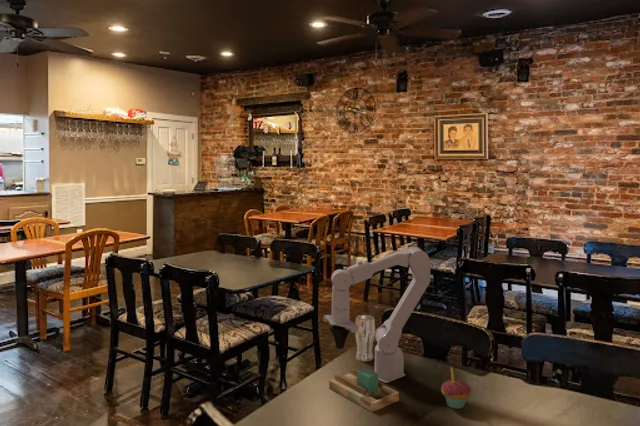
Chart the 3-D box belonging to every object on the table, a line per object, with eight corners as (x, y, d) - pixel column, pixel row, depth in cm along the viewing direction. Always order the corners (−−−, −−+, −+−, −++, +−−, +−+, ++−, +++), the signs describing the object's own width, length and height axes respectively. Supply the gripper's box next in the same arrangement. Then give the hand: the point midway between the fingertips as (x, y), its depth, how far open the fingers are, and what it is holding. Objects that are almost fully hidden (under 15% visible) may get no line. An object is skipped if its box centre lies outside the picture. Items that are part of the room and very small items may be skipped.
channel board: (355, 378, 165) (355, 366, 165) (398, 400, 151) (399, 387, 150) (329, 388, 159) (329, 376, 158) (372, 412, 144) (372, 398, 143)
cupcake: (454, 414, 143) (455, 373, 141) (434, 401, 150) (435, 362, 149) (477, 407, 147) (478, 367, 145) (456, 395, 154) (457, 357, 153)
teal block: (366, 383, 156) (366, 368, 156) (378, 389, 152) (378, 373, 152) (356, 387, 154) (357, 371, 153) (368, 393, 150) (368, 377, 149)
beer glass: (373, 363, 178) (374, 321, 176) (353, 361, 179) (354, 320, 178) (375, 355, 185) (375, 315, 183) (356, 354, 186) (356, 314, 184)
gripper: (316, 304, 167) (316, 344, 169) (346, 315, 156) (346, 357, 157) (333, 300, 172) (332, 339, 173) (363, 310, 160) (362, 352, 162)
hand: (340, 347), depth 166 cm, fingers closed
